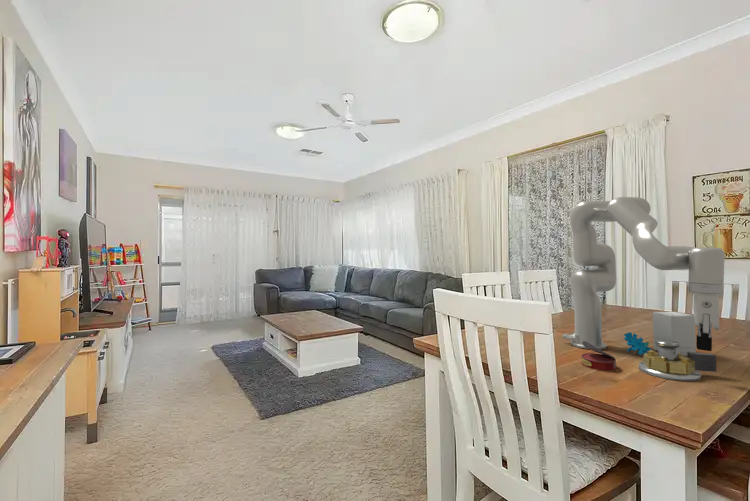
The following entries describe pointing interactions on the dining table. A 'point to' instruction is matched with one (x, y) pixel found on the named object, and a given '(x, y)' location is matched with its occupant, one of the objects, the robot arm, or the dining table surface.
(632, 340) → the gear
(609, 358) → the canned food
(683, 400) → the dining table surface
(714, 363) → the ring nut
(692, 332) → the supplement box
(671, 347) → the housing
